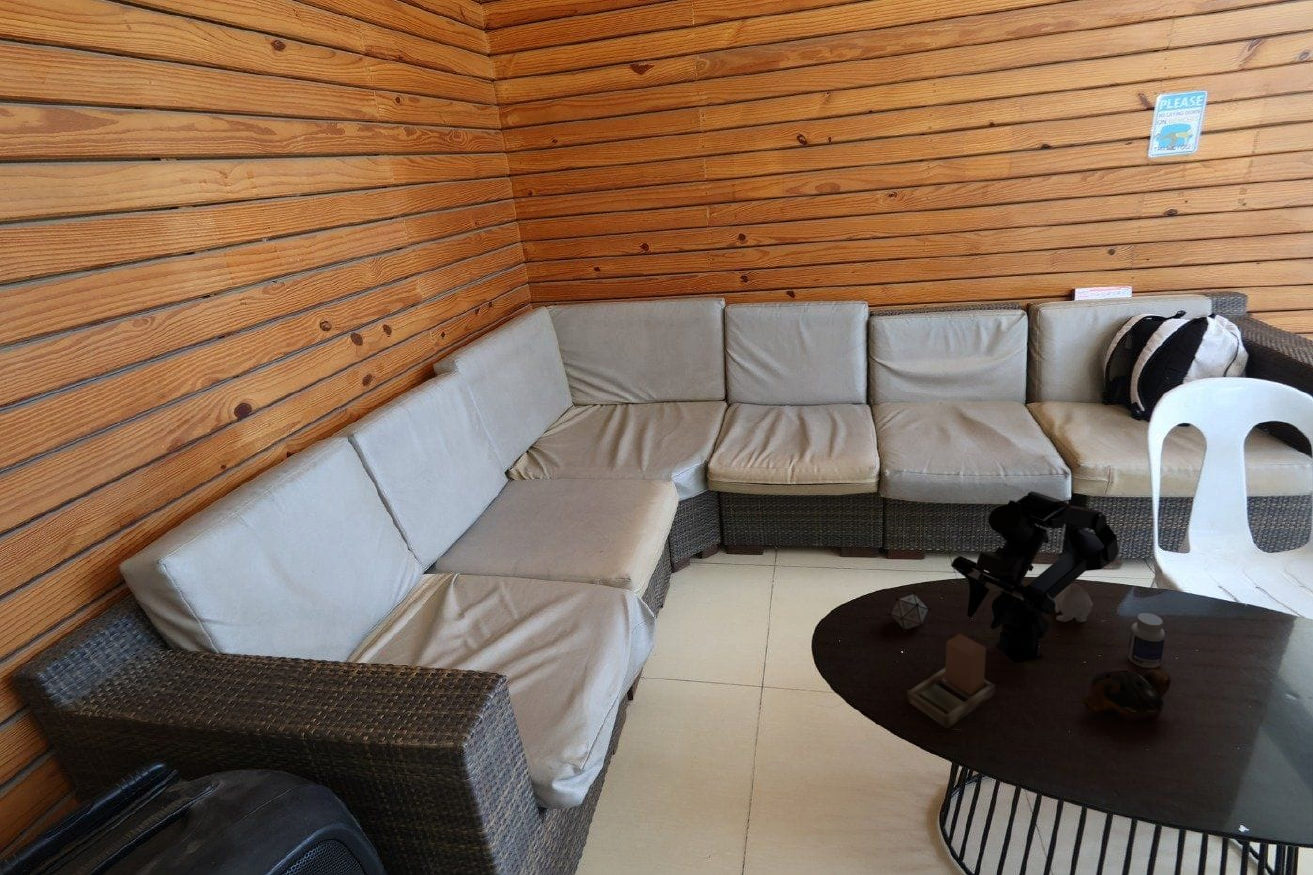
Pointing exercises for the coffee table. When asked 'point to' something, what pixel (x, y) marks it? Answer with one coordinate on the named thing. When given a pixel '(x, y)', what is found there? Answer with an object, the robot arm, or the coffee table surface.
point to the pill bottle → (1146, 641)
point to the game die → (909, 611)
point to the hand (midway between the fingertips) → (980, 622)
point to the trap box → (947, 699)
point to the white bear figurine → (1073, 604)
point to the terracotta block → (965, 664)
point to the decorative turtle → (1128, 694)
